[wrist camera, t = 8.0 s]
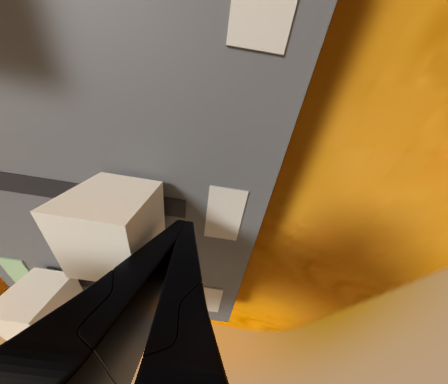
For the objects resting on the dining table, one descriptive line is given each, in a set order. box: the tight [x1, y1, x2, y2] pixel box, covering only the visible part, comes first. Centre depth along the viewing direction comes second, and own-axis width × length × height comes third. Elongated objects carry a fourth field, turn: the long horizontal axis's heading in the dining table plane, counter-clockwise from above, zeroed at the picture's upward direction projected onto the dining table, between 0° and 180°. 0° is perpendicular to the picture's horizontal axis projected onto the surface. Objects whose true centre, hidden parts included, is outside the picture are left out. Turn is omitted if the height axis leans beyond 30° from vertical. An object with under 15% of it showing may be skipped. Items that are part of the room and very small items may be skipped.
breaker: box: [0, 267, 83, 341], centre depth 12 cm, size 3×4×3 cm
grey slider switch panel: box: [0, 0, 337, 322], centre depth 10 cm, size 20×25×3 cm
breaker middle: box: [30, 172, 165, 282], centre depth 8 cm, size 3×4×3 cm
